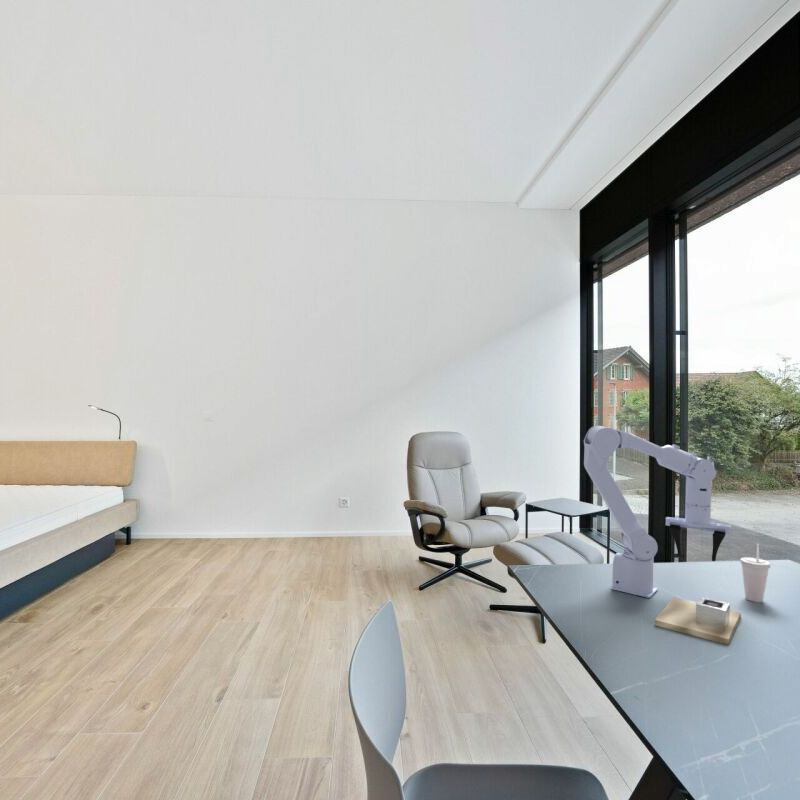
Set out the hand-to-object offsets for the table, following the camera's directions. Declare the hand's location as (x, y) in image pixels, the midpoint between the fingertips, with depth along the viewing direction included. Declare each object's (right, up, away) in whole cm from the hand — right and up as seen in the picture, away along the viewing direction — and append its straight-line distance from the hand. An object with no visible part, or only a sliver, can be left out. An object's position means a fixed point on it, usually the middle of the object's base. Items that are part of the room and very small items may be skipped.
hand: (696, 557), depth 138 cm
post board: (-9, -9, -17) cm, 22 cm away
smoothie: (+13, -10, -3) cm, 16 cm away
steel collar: (-8, -8, -20) cm, 23 cm away
